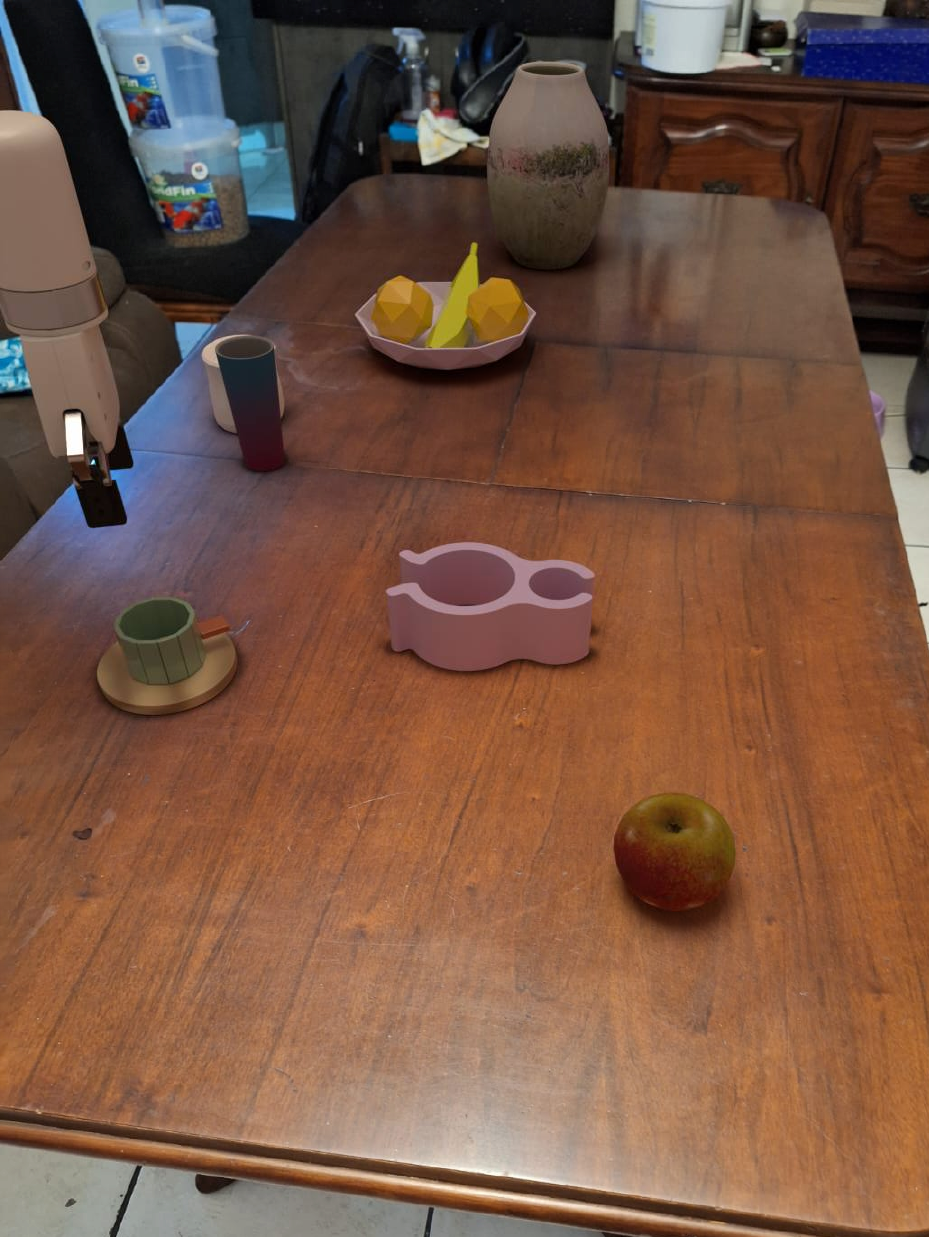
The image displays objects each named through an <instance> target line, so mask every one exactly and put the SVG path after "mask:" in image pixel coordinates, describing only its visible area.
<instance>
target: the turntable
mask: <svg viewBox="0 0 929 1237" xmlns="http://www.w3.org/2000/svg"><path fill="white" fill-rule="evenodd" d="M198 623H199V622H198ZM202 641H203V645H204V648H205V653H206V654H205V658H204V661H203V665H202V666H201V667H200V668H199V669H198V670H197V671H196V672H194V673H193V674H192V675H191V676H188V678H185V679H182V680H179V681H176V682H174V683H171V684H170V683H169V684H146V683H144V682H141V681H138V680H136V679H134V678H132V676H131V674H130V672H129V671H128V669H127V667H126V664H125V661H124V657H123V654H122V651H121V648H120V645H119V642H118V640H117V641H116V642H114V643H113V644H112V645H111V646H110V647H109V648H108V649H107V650H106V651H105V652H104V653H103V655H102V656H101V658H100V660H99V662H98V665H97V669H96V676H97V677H96V678H97V683H98V685H99V688H100V690H101V692H102V695H103V696H104V697H105V699H106V700H107V701H108V702H109V703H110V704H112V705H113V706H115V707H116V708H118V709H120V710H122V711H125V712H128V713H133V714H136V715H146V716H160V715H161V716H162V715H170V714H176V713H180V712H184V711H187V710H191V709H193V708H196V707H199V706H200V705H202V704H204V703H207V702H208V701H210V700H211V699H213V698H215V697H216V696H218V695H219V694H220V693H221V692H223V691H224V690H225V688H226V687H228V685H229V684H230V683H231V682H232V681H233V678H234V677H235V675H236V672H237V669H238V656H237V651H236V647H235V644H234V642H233V641H232V638H230V637H229V636H228V634H226V632H224V633H222V634H219V635H216V636H213V637H210V638H207V639H204V640H203V639H202Z"/></svg>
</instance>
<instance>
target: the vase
mask: <svg viewBox="0 0 929 1237" xmlns="http://www.w3.org/2000/svg"><path fill="white" fill-rule="evenodd" d="M486 162H487V163H486V176H487V177H486V178H487V179H486V180H487V190H488V199H489V204H490V209H491V214H492V217H493V220H494V224H495V227H496V229H497V232H498V234H499V237H500V238H501V240H502V243H503V244H504V246H505V248H506V249H507V251H508V252H509V254H510V255H511V257H512V258H513V259H514V260H515V262H517V263H518V264H519V265H521V266H524V267H527V268H530V269H534V270H535V269H536V270H548V271H549V270H552V271H553V270H559V269H565V268H568V267H572V266H573V265H574V264H576V263H577V262H578V261H579V260H580V259H581V258H582V256H584V254H585V252H586V251H587V249H588V248H589V247H590V245H591V243H592V241H593V239H594V238H595V235H596V233H597V230H598V228H599V225H600V224H601V223H600V222H601V220H602V217H603V213H604V209H605V205H606V201H607V196H608V190H609V184H610V183H609V181H610V141H609V132H608V127H607V124H606V120H605V118H604V115H603V113H602V111H601V108H600V106H599V104H598V102H597V100H596V98H595V96H594V94H593V92H592V90H591V87H590V86H589V83H588V78H587V76H586V71H585V70H584V68H583V67H581V66H579V65H577V64H573V63H568V62H561V61H533V62H532V61H531V62H527V63H523V64H521V65H519V66H518V67H517V68H516V70H515V72H514V76H513V79H512V81H511V84H510V85H509V88H508V90H507V91H506V93H505V95H504V97H503V99H502V100H501V102H500V103H499V106H498V107H497V110H496V112H495V114H494V117H493V118H492V122H491V125H490V130H489V137H488V148H487V161H486Z"/></svg>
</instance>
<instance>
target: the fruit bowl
mask: <svg viewBox="0 0 929 1237" xmlns="http://www.w3.org/2000/svg"><path fill="white" fill-rule="evenodd" d="M478 249H479V244H478V243H477V242H474V241H473V242H472V243H471V244H470V250H469V254H468V255H467V257H466V258H465V259H464V261H463V263H462V265H461V267H460V268H459V269H458V271H457V274H456V275H455V276H454V278H453V280H452V281H419V282H415V281H413V280H411V279H409V278H407V277H405V276H403V275H400V274H399V275H398V276H396V277H394V278H392V279H390V280H387V281H386V282H384V283H383V284H382V285H380V286H379V287H378V288H377V291H376V293H374V294H373V295H372V296H371V297H370V298H369V299H368V300H367V301H366V302H365V304H363V305H362V306H361V307H360V308H359V309H358V310H357V311H356V312H355V313H354V316H355V317H356V319H357V321H358V323H359V324H360V326H361V328H362V330H363V331H364V333H365V336H366V337H367V339H368V340H369V343H370V344H371V346H372V348H373V349H375V350H376V351H379V352H380V353H382V354H384V355H385V356H387V357H388V358H390V359H393V360H395V361H396V362H398V363H401V364H405V365H409V366H412V367H415V368H419V369H429V370H430V369H431V370H445V371H448V370H449V371H451V370H461V369H472V368H478V367H481V366H484V365H487V364H488V365H489V364H490V363H494V362H497V361H498V360H500V359H502V358H503V357H505V356H507V355H508V354H510V353H512V352H514V350H515V351H516V350H517V349H518V348H521V346H522V344H523V342H524V340H525V338H526V336H527V333H528V332H529V330H530V327H531V325H532V323H533V321H534V319H535V317H536V315H537V312H536V311H535V310H534V309H533V308H532V307H531V306H530V305H529V304H528V303H527V302H526V301H525V300H524V297H523V295H522V292H521V289H520V288H519V287H518V286H517V285H516V284H515V283H514V282H513V281H512V280H511V279H507V278H500V277H490V278H489V279H487V280H486V281H485V282H484V283H482V284H481V283H480V270H479V269H480V268H479V258H478V256H477V255H478Z"/></svg>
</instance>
